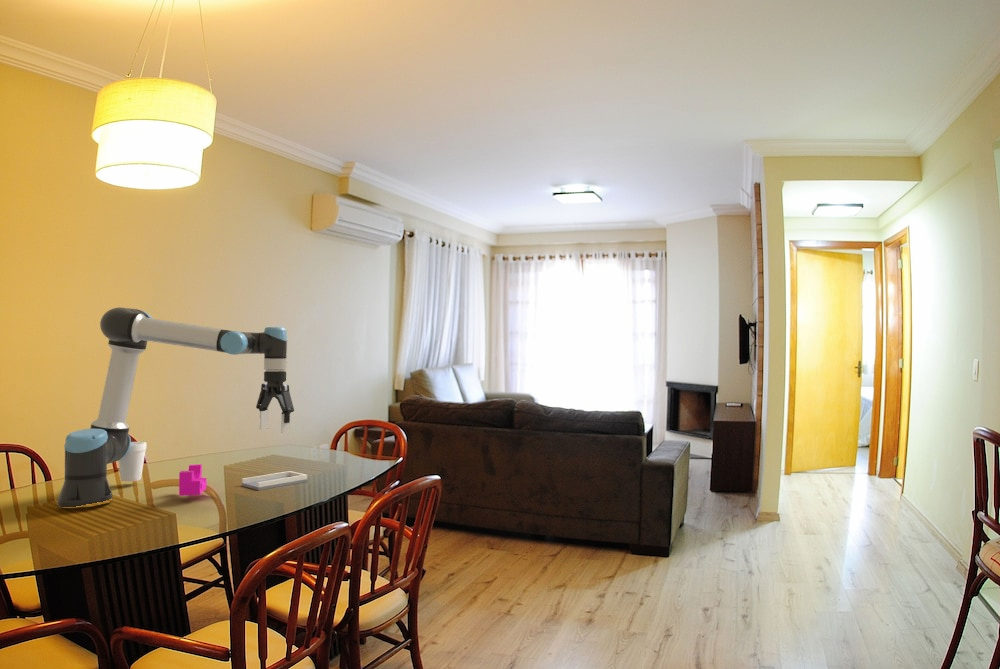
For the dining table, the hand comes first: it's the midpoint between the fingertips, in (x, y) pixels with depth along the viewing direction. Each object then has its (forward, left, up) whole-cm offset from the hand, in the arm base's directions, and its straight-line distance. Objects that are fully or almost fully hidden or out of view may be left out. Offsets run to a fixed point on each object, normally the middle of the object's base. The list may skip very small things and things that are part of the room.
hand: (274, 430), depth 238 cm
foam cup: (-30, +45, -19) cm, 57 cm away
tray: (0, 0, -19) cm, 19 cm away
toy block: (-23, +11, -19) cm, 32 cm away
